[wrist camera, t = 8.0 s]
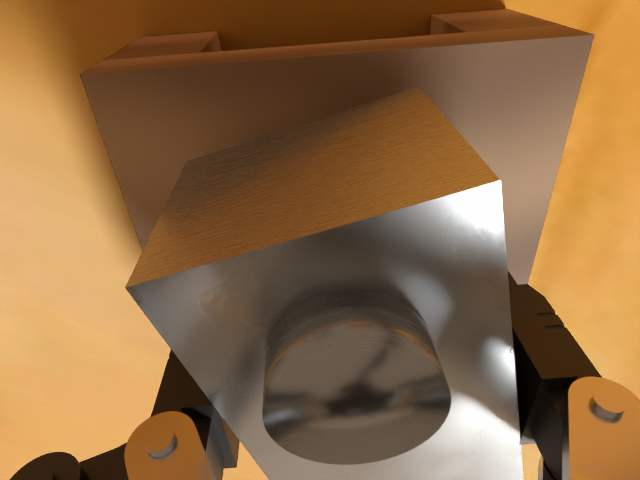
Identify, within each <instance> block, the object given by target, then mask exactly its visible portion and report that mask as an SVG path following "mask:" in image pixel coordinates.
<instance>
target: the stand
mask: <svg viewBox="0 0 640 480" xmlns="http://www.w3.org/2000/svg"><path fill="white" fill-rule="evenodd" d="M593 38H594V34H590V33H587V32H584V31H580V30H577V29H573V28H570V27H567V26H563V25H560V24H557V23H553V22H550V21H546V20H543V19H540V18H536V17H533V16H530V15H526V14H523V13H520V12H516V11H513V10H509V9H498V10H485V11H472V12H459V13H446V14H433V15H431V26H430V35H425V36H412V37H399V38H386V39H373V40H360V41H347V42H334V43H321V44H308V45H295V46H282V47H269V48H256V49H243V50H230V51H222V50H221V45H220V39H219V33H218V31H211V32H198V33H185V34H172V35H159V36H146V37H140V38H139V39H137V40H135V41H134V42H132V43H131V44H129V45H127V46H126V47H124V48H122V49H121V50H119V51H117V52H116V53H114V54H112V55H111V56H109V57H108V58H106V59H104V60H103V61H101V62H99V63H98V64H96V65H94V66H93V67H91V68H90V69H88V70H86V71H85V72H83V73H81V74H80V77H81V80H82V82H83V85H84V88H85V91H86V94H87V96H88V99H89V102H90V105H91V108H92V110H93V113H94V116H95V119H96V122H97V124H98V127H99V130H100V133H101V136H102V138H103V141H104V144H105V147H106V149H107V152H108V155H109V158H110V161H111V163H112V166H113V169H114V172H115V175H116V177H117V180H118V183H119V186H120V189H121V191H122V194H123V197H124V200H125V203H126V205H127V208H128V211H129V214H130V217H131V219H132V222H133V225H134V228H135V231H136V233H137V236H138V239H139V242H140V245H141V247H142V250H144V248H145V246H146V244H147V242H148V239H149V237H150V235H151V233H152V231H153V229H154V227H155V225H156V223H157V221H158V219H159V217H160V215H161V213H162V211H163V209H164V206H165V204H166V202H167V200H168V198H169V196H170V194H171V192H172V190H173V188H174V186H175V184H176V182H177V180H178V178H179V175H180V173H181V171H182V169H183V167H184V165H185V163H186V161H188V160H191V159H195V158H198V157H201V156H204V155H207V154H210V153H213V152H216V151H220V150H223V149H226V148H229V147H232V146H235V145H238V144H241V143H245V142H248V141H251V140H254V139H257V138H260V137H263V136H266V135H270V134H273V133H276V132H279V131H282V130H285V129H288V128H291V127H295V126H298V125H301V124H304V123H307V122H310V121H313V120H316V119H320V118H323V117H326V116H329V115H332V114H335V113H338V112H341V111H345V110H348V109H351V108H354V107H357V106H360V105H363V104H366V103H370V102H373V101H376V100H379V99H382V98H385V97H388V96H391V95H395V94H398V93H401V92H404V91H407V90H410V89H413V88H416V87H420V88H421V89H422V91H423V92H424V93H425V94H426V95H427V96H428V97H429V99H430V100H431V101H432V102H433V103H434V104H435V105H436V107H437V108H438V109H439V110H440V111H441V112H442V113H443V115H444V116H445V117H446V118H447V119H448V120H449V122H450V123H451V124H452V125H453V126H454V127H455V128H456V130H457V131H458V132H459V133H460V134H461V135H462V136H463V138H464V139H465V140H466V141H467V142H468V143H469V144H470V146H471V147H472V148H473V149H474V150H475V151H476V152H477V154H478V155H479V156H480V157H481V158H482V159H483V160H484V162H485V163H486V164H487V165H488V166H489V167H490V168H491V170H492V171H493V172H494V173H495V174H496V175H497V176H498V178H499V179H500V180H501V190H502V203H503V216H504V229H505V243H506V256H507V269H508V271H509V272H510V274H511V275H512V277H513V278H514V280H515V281H516V283H517V284H518V285H519V284H528V281H529V277H530V273H531V270H532V266H533V262H534V258H535V255H536V251H537V247H538V243H539V240H540V236H541V232H542V229H543V225H544V221H545V217H546V214H547V210H548V206H549V202H550V199H551V195H552V191H553V187H554V184H555V180H556V176H557V172H558V169H559V165H560V161H561V158H562V154H563V150H564V146H565V143H566V139H567V135H568V131H569V128H570V124H571V120H572V116H573V113H574V109H575V105H576V101H577V98H578V94H579V90H580V87H581V83H582V79H583V75H584V72H585V68H586V64H587V60H588V57H589V53H590V49H591V45H592V42H593Z"/></svg>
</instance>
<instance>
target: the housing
mask: <svg viewBox="0 0 640 480" xmlns="http://www.w3.org/2000/svg"><path fill="white" fill-rule="evenodd" d="M125 288H126V289H127V291H128V292H129V293H130V295H131V296H132V297H133V299H134V300H135V301H136V303H137V304H138V305H139V307H140V308H141V309H142V311H143V312H144V313H145V315H146V316H147V317H148V319H149V320H150V321H151V323H152V324H153V325H154V327H155V328H156V329H157V331H158V332H159V333H160V335H161V336H162V337H163V339H164V340H165V341H166V343H167V344H168V345H169V347H170V348H171V349H172V351H173V352H174V353H175V355H176V356H177V357H178V359H179V360H180V361H181V363H182V364H183V365H184V367H185V368H186V369H187V371H188V372H189V373H190V375H191V376H192V377H193V379H194V380H195V381H196V383H197V384H198V385H199V387H200V388H201V389H202V391H203V392H204V393H205V395H206V396H207V397H208V399H209V400H210V401H211V403H212V404H213V405H214V407H215V408H216V409H217V411H218V412H219V413H220V415H221V416H222V417H223V419H224V420H225V421H226V423H227V424H228V425H229V427H230V428H231V429H232V431H233V432H234V433H235V435H236V436H237V437H238V439H239V440H240V441H241V443H242V444H243V445H244V447H245V448H246V449H247V451H248V452H249V453H250V455H251V456H252V457H253V459H254V460H255V461H256V463H257V464H258V465H259V467H260V468H261V469H262V471H263V472H264V473H265V475H266V476H267V477H268V479H269V480H524V479H523V466H522V453H521V445H519V443H520V427H519V414H518V400H517V387H516V374H515V361H514V348H513V335H512V322H511V308H510V295H509V282H508V269H507V256H506V243H505V229H504V216H503V203H502V190H501V180H500V179H499V178H498V176H497V175H496V174H495V173H494V172H493V171H492V170H491V168H490V167H489V166H488V165H487V164H486V163H485V162H484V160H483V159H482V158H481V157H480V156H479V155H478V154H477V152H476V151H475V150H474V149H473V148H472V147H471V146H470V144H469V143H468V142H467V141H466V140H465V139H464V138H463V136H462V135H461V134H460V133H459V132H458V131H457V130H456V128H455V127H454V126H453V125H452V124H451V123H450V122H449V120H448V119H447V118H446V117H445V116H444V115H443V113H442V112H441V111H440V110H439V109H438V108H437V107H436V105H435V104H434V103H433V102H432V101H431V100H430V99H429V97H428V96H427V95H426V94H425V93H424V92H423V91H422V89H421V88H420V87H416V88H413V89H410V90H407V91H404V92H401V93H398V94H395V95H391V96H388V97H385V98H382V99H379V100H376V101H373V102H370V103H366V104H363V105H360V106H357V107H354V108H351V109H348V110H345V111H341V112H338V113H335V114H332V115H329V116H326V117H323V118H320V119H316V120H313V121H310V122H307V123H304V124H301V125H298V126H295V127H291V128H288V129H285V130H282V131H279V132H276V133H273V134H270V135H266V136H263V137H260V138H257V139H254V140H251V141H248V142H245V143H241V144H238V145H235V146H232V147H229V148H226V149H223V150H220V151H216V152H213V153H210V154H207V155H204V156H201V157H198V158H195V159H191V160H188V161H186V163H185V165H184V167H183V169H182V171H181V173H180V175H179V178H178V180H177V182H176V184H175V186H174V188H173V190H172V192H171V194H170V196H169V198H168V200H167V202H166V204H165V206H164V209H163V211H162V213H161V215H160V217H159V219H158V221H157V223H156V225H155V227H154V229H153V231H152V233H151V235H150V237H149V239H148V242H147V244H146V246H145V248H144V250H143V252H142V254H141V256H140V258H139V260H138V262H137V264H136V266H135V268H134V270H133V273H132V275H131V277H130V279H129V281H128V283H127V285H126V287H125Z"/></svg>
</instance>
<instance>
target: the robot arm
mask: <svg viewBox="0 0 640 480" xmlns="http://www.w3.org/2000/svg"><path fill="white" fill-rule="evenodd" d="M508 282H509V295H510V308H511V322H512V335H513V348H514V361H515V374H516V387H517V400H518V414H519V427H520V443H519V445H523V444H535V443H536V444H537V446H538V448H539V450H540V453H541V455H542V456H541V458H540V461H539V467H538V480H640V400H639V399H638V398H637V397H636V396H635V395H634V394H633V393H632V392H631V391H629V390H628V389H627V388H625V387H623V386H622V385H620V384H618V383H616V382H613V381H611V380H608V379H605V378H602V377H601V375H600V374H599V373H598V371H597V370H596V369H595V367H594V366H593V364H592V363H591V361H590V360H589V359H588V357H587V356H586V354H585V353H584V352H583V350H582V349H581V347H580V346H579V345H578V343H577V342H576V340H575V339H574V338H573V336H572V335H571V333H570V332H569V331H568V329H567V328H565V327H564V324H563V322H562V321H561V319H560V318H559V317H558V315H555V311H554V309H553V308H552V307H551V305H550V304H549V302H548V301H547V300H546V298H545V297H544V296H543V295H541V294H540V293H539V292H537V291H536V290H535V289H533V288H532V287H531V286H529V285H528V284H519V285H518V284H517V283H516V281H515V280H514V278H513V277H512V275H511V274H510V272H509V271H508ZM239 441H240V440H239V439H238V437H237V436H236V435H235V433H234V432H233V431H232V429H231V428H230V427H229V425H228V424H227V423H226V421H225V420H224V419H223V417H222V416H221V415H220V413H219V412H218V411H217V409H216V408H215V407H214V405H213V404H212V403H211V401H210V400H209V399H208V397H207V396H206V395H205V393H204V392H203V391H202V389H201V388H200V387H199V385H198V384H197V383H196V381H195V380H194V379H193V377H192V376H191V375H190V373H189V372H188V371H187V369H186V368H185V367H184V365H183V364H182V363H181V361H180V360H179V359H178V357H177V356H176V355H175V353H174V352H173V351H172V349H171V352H170V355H169V359H168V362H167V365H166V368H165V372H164V375H163V378H162V382H161V385H160V388H159V392H158V395H157V398H156V402H155V405H154V408H153V411H152V414H151V417H150V418H148V419H147V420H145V421H144V422H143V423H141V424H140V425H139V426H138V427H137V428H136V429H135V431H134V432H133V433H132V435H131V436H130V438H129V440H128V442H127V443H125V444H123V445H121V446H120V447H117V448H115V449H113V450H110V451H108V452H105V453H103V454H100V455H97V456H95V457H92V458H90V459H87V460H84V461H82V462H78V461H77V459H76V458H75V457H74V456H72V455H71V454H68V453H65V452H53V453H48V454H45V455H42V456H40V457H38V458H36V459H34V460H32V461H31V462H29V463H27V464H26V465H25V466H23V467H22V468H21V469H20V470H19V471H18V472H16V473H15V474H14V476H13V477H12V478H11V479H10V480H222V476H223V468H235V467H237V460H238V450H239Z"/></svg>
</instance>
